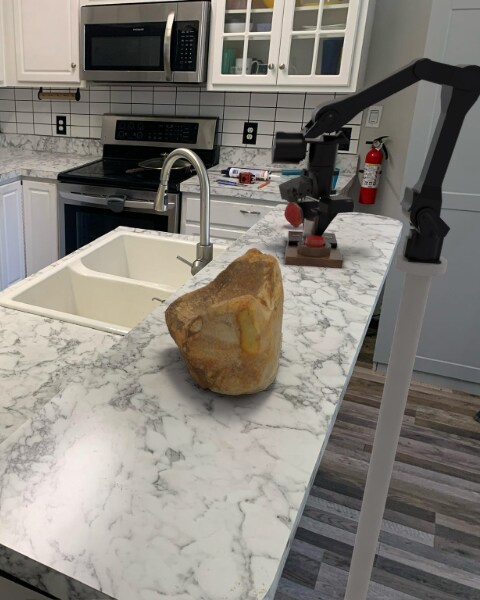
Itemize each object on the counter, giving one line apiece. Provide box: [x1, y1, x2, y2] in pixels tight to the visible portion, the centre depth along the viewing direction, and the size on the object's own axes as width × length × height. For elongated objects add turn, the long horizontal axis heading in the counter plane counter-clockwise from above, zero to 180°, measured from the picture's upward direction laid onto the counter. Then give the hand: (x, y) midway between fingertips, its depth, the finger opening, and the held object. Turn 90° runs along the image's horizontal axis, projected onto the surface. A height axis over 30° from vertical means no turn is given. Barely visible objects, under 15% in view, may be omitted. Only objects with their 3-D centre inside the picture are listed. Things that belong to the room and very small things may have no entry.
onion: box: [284, 202, 303, 228], centre depth 151 cm, size 6×6×8 cm
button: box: [305, 236, 324, 247], centre depth 127 cm, size 4×4×2 cm
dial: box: [302, 217, 322, 238], centre depth 135 cm, size 4×4×4 cm
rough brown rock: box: [164, 247, 285, 396], centre depth 86 cm, size 23×17×15 cm
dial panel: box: [286, 230, 338, 248], centre depth 136 cm, size 10×8×3 cm
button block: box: [284, 240, 344, 269], centre depth 128 cm, size 11×8×4 cm
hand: (312, 235), depth 136 cm, fingers closed on dial, 4 cm apart
